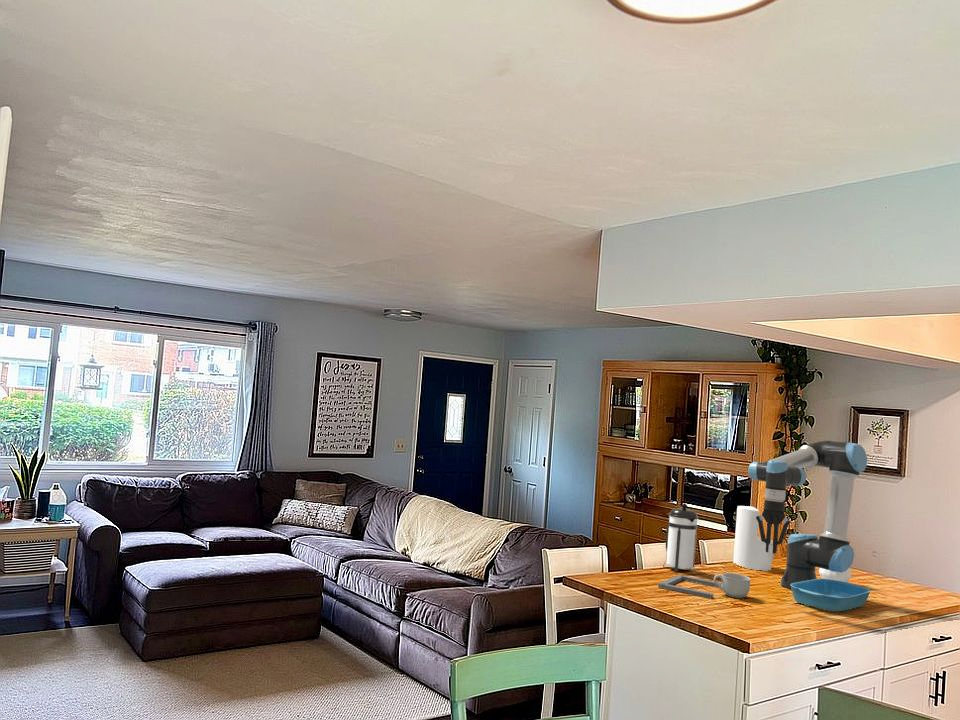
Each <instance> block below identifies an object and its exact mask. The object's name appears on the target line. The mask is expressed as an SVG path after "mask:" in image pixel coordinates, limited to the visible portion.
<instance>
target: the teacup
mask: <svg viewBox="0 0 960 720" xmlns="http://www.w3.org/2000/svg"><path fill="white" fill-rule="evenodd" d="M717 578H720V581H721V583H722V585H720V584H718V583H717V582H718V581H717ZM712 581H714V583H715V584H716V585H717V586H719V587H720V588H719V587H718V588H719V590H722V591H723V592H724V593H725V595H726V596H728V597H731V598H734V597H735V598H736V599H743V598H745V597H747V596H748V594H749V593H750V587H751V578H750V577H749V576H747V575H744V574H740V573H734V572H724V573H722V575H721V574H719V573H718V574H715V575H714V577H713V580H712Z"/></svg>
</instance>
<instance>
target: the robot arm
mask: <svg viewBox="0 0 960 720" xmlns="http://www.w3.org/2000/svg"><path fill="white" fill-rule="evenodd" d="M867 465H868V456H867V453H866V451H865V449H864V447H863V445H861V444H859V443H854V442H850V441H849V442H846V441H835V440H821V441H820V440H819V441H815V442H812V443H809V444H805V445H802V446H800V447H799V448H798V450H794V451H792V452H789V453H786V454H784V455H780V456H778V457H774V458H772V459H769V460H765V461H763V462H761V461H752V462H750V464H749V466H748V469H747V471H748V472H747V474H748V477H749V478H750V479H752V480H754V481H758V482H765V490H764V499H765V500H764V501H763V511H762V513H761V514H759V516H756V519H757V521H758V531H759V535H760V536H759V537H761V541H762V542H765V543H766V552H768V562H771V563H773V562H774V555H775V554H777V551H778V545H781V544H783V541H784V540H785V536H786V533H787V531H788V527H789V526H790V524H791V523H792V521H791V520H790V519H788V518H787V517H786V514H785V507H786V503H785V501H786V496H787V495H786V494H787V486H790V487H791V486H793V487H797V486H798V487H799V486H803V484H805V482H806V480H807V473H806V471H805V469H803V468H813V467H820V468H821V467H822V468H828V472H829V474H830V475H831V481H830V482H831V483H830V489H829V494H828V495H829V496H828V497H829V498H828V503H827V509H826V510H827V511H826V518H825V523H824V531H823V532H822V533H821V534H819V536H818V535H817V534H812V533H809V534H808V533H792V534H789V536H788V540H787V548H786V549H787V551H786V554H787V555H786V567H785V570H784V573H783V575H782V577H781V580H780V585H781V587H783V588H787V589H790V590H792V589H791V586H790V584H792V583H796V582H802V581H807V580H813V579H818V578H817V577H818V576H817V573H816V568H818V569H820V568H822V569H826V570H830V571H833V572H845V571H847V570H848V569H849V568H850V569H851V566H852V565H853V562H854V559H855V552H854V548H853V547H852V546H851V545H850V540H849V538H848V537H847V534H848V528H849V527H848V526H849V521H850V513H851V507H852V500H853V499H852V497H853V491H854V486H855V485H854V484H855V480H856V479H857V478H859V477H860V473H862V472H864V471H865V470H866V468H867ZM764 520H765V522H766V532H765V528H764V527H765V526H764V522H763V521H764ZM782 522H783V526H782V528H781V533H780V535H779V528H780V527H779V525H780V524H781V523H782ZM772 525H773V526H772ZM772 528H773V534H772ZM772 535H773V537H772ZM772 538H773V539H772ZM771 540H773V544H770V543H771Z"/></svg>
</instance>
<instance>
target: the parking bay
mask: <svg viewBox="0 0 960 720" xmlns="http://www.w3.org/2000/svg"><path fill="white" fill-rule="evenodd" d="M681 580H682V581H684V580H688V581H687V582H689V581H693V582H692V583H694V582H697V583H696V584H699V583H702V584H701V585H704V584H706V586H709V585H711V586H710V587H714V586H716V587H715V588H719V586H717V585H716V584H715V583H714V580H708V579H703V578H697V577H692V576H688V575H683V574H677V575H675V576H674V577H673V576H672V577H671V578H667V580H664V581H661V582H659V583H658V585H657V587H659V589H663V588H664V590H667V589H668V591H672V590H674V591H673V592H677V591H679V592H678V593H682V592H684V593H683V594H686V593H688V594H687V595H691V594H693V595H692V596H696V595H697V596H698V597H701V596H702V598H705V597H706V599H710V598H711V599H714V593H712V592H707V591H703V590H699V589H698V590H697V589H692V588H687V587H682V586H678V585H675V583H676V584H677V582H678V583H680V582H682V581H681ZM679 581H680V582H679ZM717 583H718V584H720V585H722V582H718V581H717ZM673 584H674V585H673ZM697 596H696V597H697Z"/></svg>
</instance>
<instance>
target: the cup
mask: <svg viewBox="0 0 960 720" xmlns="http://www.w3.org/2000/svg"><path fill="white" fill-rule="evenodd" d="M818 573H819V575H820V577H821V579H830V580H836V581H843V582H848V583H849V581H850V579H851V578H852V573H851V567H850V568H849V569H848V570H847V571H845V572H833V571H830V570H826V569H822V568H818Z"/></svg>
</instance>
